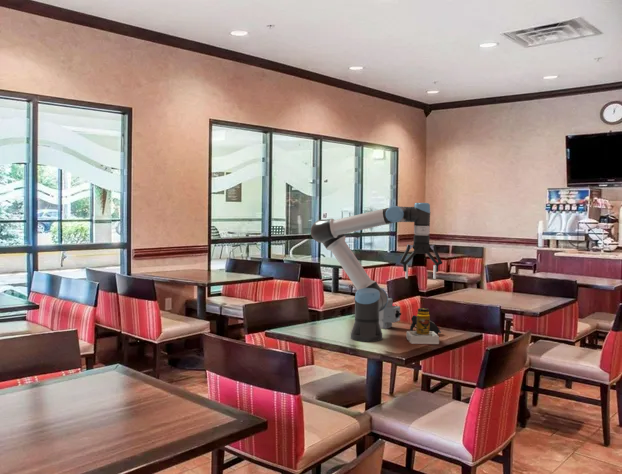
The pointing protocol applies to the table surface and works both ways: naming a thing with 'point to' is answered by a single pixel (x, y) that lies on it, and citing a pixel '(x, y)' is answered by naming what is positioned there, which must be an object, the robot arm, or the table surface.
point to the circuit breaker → (389, 315)
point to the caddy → (422, 338)
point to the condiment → (423, 322)
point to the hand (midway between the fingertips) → (420, 278)
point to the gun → (432, 325)
